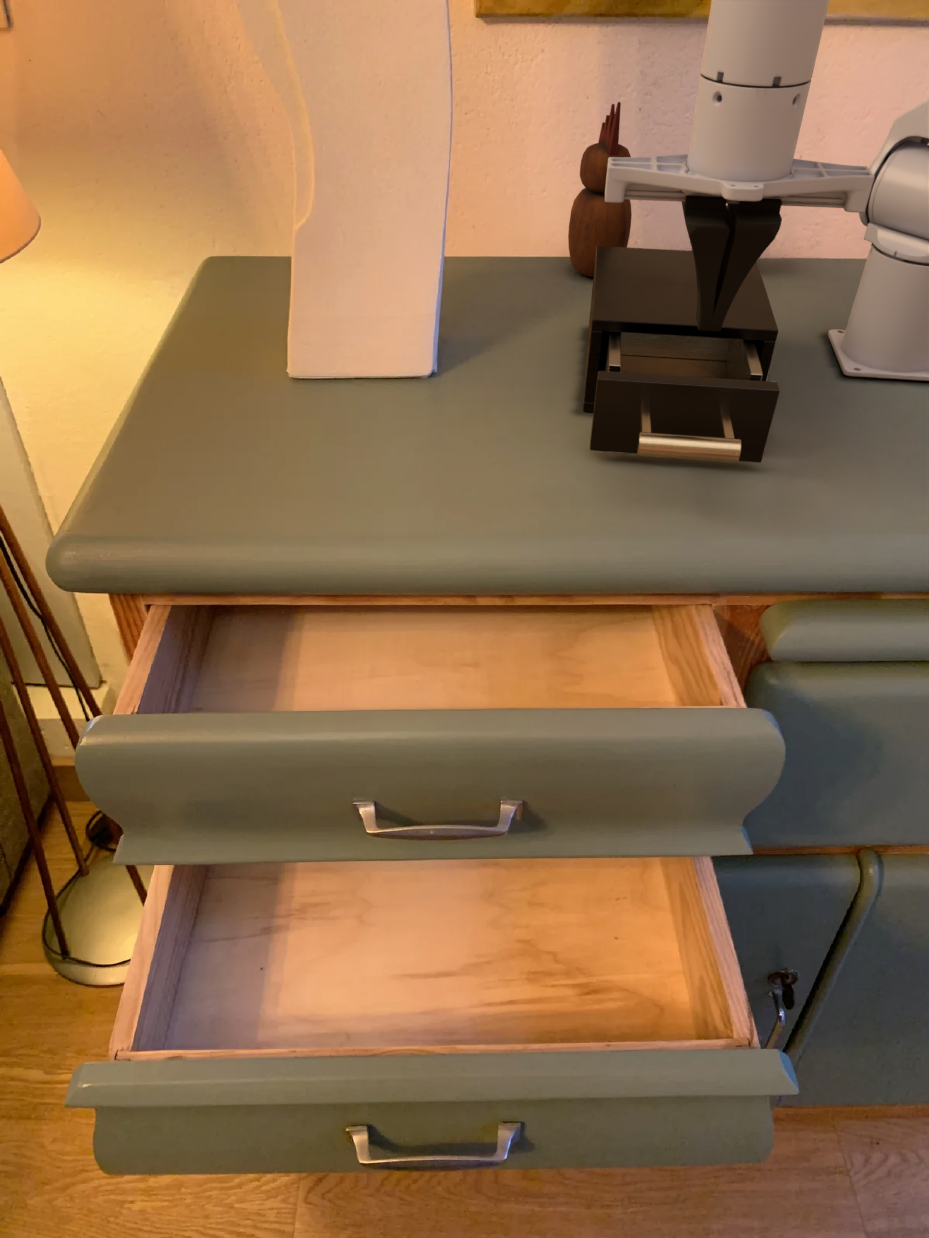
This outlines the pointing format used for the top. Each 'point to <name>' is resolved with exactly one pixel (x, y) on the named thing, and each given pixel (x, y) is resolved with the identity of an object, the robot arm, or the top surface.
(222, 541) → the top surface
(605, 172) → the wooden figurine
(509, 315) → the top surface
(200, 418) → the top surface
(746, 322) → the dark drawer cabinet
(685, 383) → the black drawer
